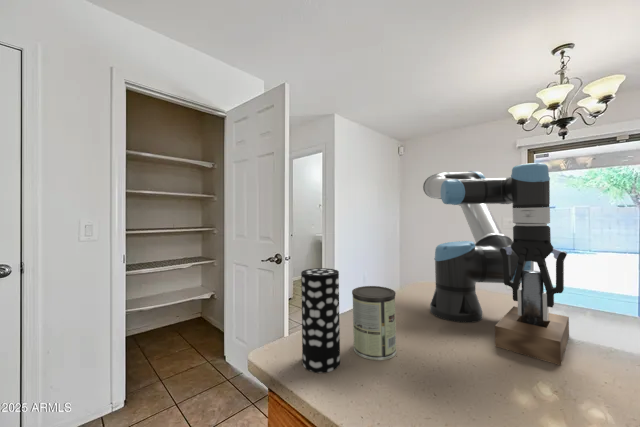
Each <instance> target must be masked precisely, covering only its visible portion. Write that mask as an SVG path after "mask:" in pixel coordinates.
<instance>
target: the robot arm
mask: <svg viewBox="0 0 640 427" xmlns="http://www.w3.org/2000/svg"><path fill="white" fill-rule="evenodd" d="M549 173H550V172H549V166H548V164H546V163H543V162H531V163H523V164H518V165H515V166H513V167H512V169H511V175H510V177H491V178H486V176H485V175H484V174H483V173H482V172H480V171H473V170H469V171H457V172H456V171H453V172H439V173H438V172H437V173H435V174H432V175H430V176H428V177H427V178H426V179H425V181H424V182H423V185H422V189H423V192H424V194H425V195H426V196H427V197H428V198H431V199H437V200H441V202H442V203H443V204H444V205H453V206H459V207H460V208H461V210H462V213H463V214H464V217H465V220H466V222H467V225H468V227H469V229H470V232H471V234H472V236H473V239H474V241H472V240H464V241H463V240H462V241H460V240H458V241H457V240H456V241H449V242H444V243H440V244H438V245H436V247H435V249H434V268H435V271H434V272H435V289H434V291H433V292H434V293H433V295H432V298H431V302H430V305H429V306H430V307H429V309H430V314H432V315H434V316H435V317H437V318H440V319H442V320H446V321H449V322H450V321H451V322H457V323H477V322H480V321H481V320H482V319H483V318H484V317H483V309H482V306H481V303H480V301H479V298H478V296H477V295H478V294H477V290H476V283H483V284H484V283H488V284H490V283H491V284H504V285H505V286H508V287H510V288H511V289H512V300H513V301H514V302H517V307H518V315H519V316H522V287H520V285H521V284H522V282H521V274H522V271H523V270H532V269H531V267H532V262H534V263H536V264H537V266H538V269H539V271H540V273H541V276H542V279H543V285H544V288H545V289H544V290H545V291H544V293H543V321H548V319H549V313H550V312H549V308H554V305H555V294H563V292H564V290H565V289H564V288H565V284H564V282H565V280H564V274H565V272H564V271H565V269H564V267H565V265H564V263H565V260H566V257H567V256H568V252H567V251H565V250H559V249H557V248H554V246H553V244H552V242H551V240H552V238H551V227H550V225H548V224H550V223H551V207H550V203H551V202H550V200H551V198H550V197H551V196H550V184H551V183H550V180H551V177H550V174H549ZM488 204H489V205H496V204H500V205H510V204H511V205H512V206H511V207H512V223H513V224H514V225H513V227H512V238H511V237H510V236H508V235H506V234H503V232H502V230H501V228H500V226H499V224H498V222H497V221H496V218H495V217H494V215H493V213H492V211H491V210H490V207H489V205H488ZM550 254H553V258H554V259H555V260H556V261H555V286H554V285H553V283H552V279H551V276H550V272H549V270H548V267H547V262H546V259H547V258H548V256H550Z"/></svg>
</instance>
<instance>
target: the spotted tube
mask: <svg viewBox="0 0 640 427" xmlns="http://www.w3.org/2000/svg"><path fill="white" fill-rule="evenodd" d="M300 273H301V275H300V276H301V278H300V279H301V281H300V282H301V340H302V341H301V345H302V346H301V348H302V349H301V350H302V352H301V353H302V357H301V358H302V366H303V368H305V369H306V370H307V371H310V372H312V373H318V374H321V373H322V374H323V373H325V374H326V373H331V372H333V371H334V370H336V369H338V367H339V366H340V364H341V344H340V342H341V336H340V335H341V333H340V329H341V328H340V326H341V324H340V278H339V277H340V276H339V275H340V273H339V270H338V269H333V268H323V267H321V268H320V267H319V268H307V269H304V270H302V271H301V272H300Z"/></svg>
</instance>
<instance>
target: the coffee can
mask: <svg viewBox="0 0 640 427" xmlns="http://www.w3.org/2000/svg"><path fill="white" fill-rule="evenodd" d="M351 295H352V319H353V320H352V322H353V326H352V327H353V351H354V353H356V355H357V356H359V357H361V358H363V359H366V360H371V361H385V360H389V359H391V358H394V357H395V356H396V354H397V335H396V334H397V333H396V332H397V331H396V330H397V328H396V291H395V290H394V289H391V288H389V287H385V286H377V285H364V286H358V287H356V288H353V289H352V291H351Z"/></svg>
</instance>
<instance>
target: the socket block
mask: <svg viewBox="0 0 640 427" xmlns="http://www.w3.org/2000/svg"><path fill="white" fill-rule="evenodd" d="M569 318H570V316H565V315H562V314H556V313H551V312H549V319H548V321H544V327H540V326H536V325H531V324H527V323H522V316H519V315H518V306H515V305H514V306H512V308H511V309H509V310H508V311H507V312H506V314H505V315H504V316H503V317H501V319H500V320H499V321H498V322H497V323H496V324H495V325H494V342H495V347H496V348H499V349H503V350H506V351H510V352H513V353H517V354H521V355H524V356H528V357H531V358H534V359H538V360H541V361H545V362H548V363H550V364H555V365H558V366H562V365H563V364H562V363H563V360H564V357H565V352H566V349H567V345H568V341H569V337H570V319H569Z"/></svg>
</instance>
